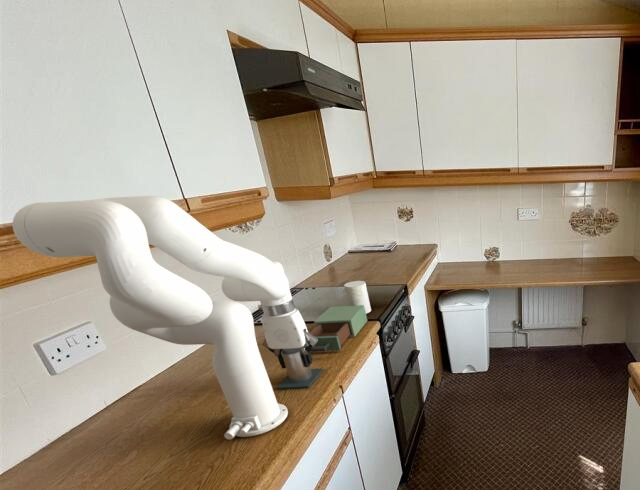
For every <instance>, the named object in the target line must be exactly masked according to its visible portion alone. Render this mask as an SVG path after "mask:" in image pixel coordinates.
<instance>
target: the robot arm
mask: <svg viewBox="0 0 640 490" xmlns="http://www.w3.org/2000/svg"><path fill="white" fill-rule="evenodd" d="M12 231H13V233H14V235H15V237H16V238H17V240H18V241H19V242H20V244H21V245H23V246H24V247H25V248H27V249H29V250H30V251H32V252H34V253H37V254H39V255H42V256H46V257H50V258H75V257H76V258H78V257H79V258H81V257H95V258H96V263H97V268H98V273H99V276H100V281H101V284H102V287H103V289H104V290H105V292H106V293H107V294H108V295H109V296H110V297H109V307H110V311H111V313H112V315H113V316H114V318H115V319H116V320H117V321H118V322H119V323H121V324H122V325H123V326H125V327H126V328H128V329H131V330H133V331H135V332H138V333H141V334H144V335H147V336H150V337H153V338H156V339H159V340H161V341H165V342H168V343H171V344H175V345H182V346H188V345H189V346H194V345H195V346H196V345H211V346H214V352H213V355H212V357H211V366H212V370H213V372H214V374H215V376H216V379H217V382H218V383H219V386H220V388H221V391H222V394H223V396H224V398H225V400H226V401H225V402H226V403H227V405H228V408H229V410H230V412H231V415H232V417H231V419H230V421H231V422H230V424H229V429H227V430H226V432H225V433H224V434H223V437H224V439H225V440H230V441H231V440H233V439H234V438H235V437H238V438H250V437H254V436H259V435H262V434H265V433H267V432H271V431H272V430H274V429H275V428H277V427H278V426H280V425H281V424H282V423H283V422H284V421H285V420H286V419H287V417H288V416H289V410H288V408H287V406H286V405H285V404H282V403H278V401H277V400H278V399H277V398H276V395H275V392H274V389H273V386H272V383H271V381H270V377H269V375H268V372H267V369H266V367H265V364H264V361H263V358H262V355H261V353H260V349H259V346H258V342H257V338H256V331H255V321H254V317H253V313H252V312H251V310H250V309H249V308H248V307H247V306H246V305H244V304H243V302H260V304H258V305H257V309H258V310H262V313H263V314H262V315H261V323H262V330H263V334H264V338H265V339H264V340H263V341H262V343H261V346H263V347H264V348H266V349H267V350H268V351H269V352H271V353H272V354H273V355H274V356H275V357H277V360H278V363H279V365H280V366H281V369H285V370H286V367H285V364H284V361H283V358H282V355H281V351H282V350H284V349H291V348H299V349H300V350H301V352H302V353H303V355H302V358H303V361H304V365H305V367H309V366H310V367H311V365H312V364H313V361H314V359H313V357H312V353H311V352H310V351H311V349H312V348H313V347H314V345H315V344H316V343H317V342H318V339H317V338H315V337H314V336H312V335H311V334H309V333H310V332H309V331H308V327H307V325H306V323H305V320H304V318H303V316H302V314H301V312H300V311H299V309H298V308H296V305H295V302H294V299H293V296H292V291H291V289H290V281H289V279H288V277H287V276H286V274H285V273H286V272H285V270H284V269H285V268H284V267H283V265H282V263H281V262H279V261H276V260H271V259H269V258H267V257H266V256H264V255H262V254H261V253H258V252H256V251H253V250H251V249H248V248H245V247H243V246H240V245H238V244H236V243H232V242H229V241H226V240H224V239H222V238H220V237H219V236H217V235H216V234H215V233H214V232H212V231H211V230H210V229H208V228H207V227H206V226H204V225H203V224H202V223H201V222H199V221H198V220H197V219H196V218H194V217H193V216H192V215H191V214H189V213H188V212H187V211H185V210H184V209H183V208H182V207H181V206H179V205H178V204H176V203H175V202H174V201H172V200H170V199H168V198H165V197H161V196H156V195H138V196H122V197H120V196H119V197H116V196H115V197H106V198H97V199H86V200H85V199H84V200H69V201H67V200H66V201H49V202H35V203H30V204H27V205H24V206H23V207H22V208H20V209H18V211H17V212H16V213H15V215H14V216H13V219H12ZM150 245H151V246H153V247H155V248H157V249H159V250H160V251H162V252H163V253H165V254H166V255H168V256H169V257H171V258H173V259H174V260H176V261H178V262H179V263H181V264H182V265H184V266H185V267H187V268H188V269H190V270H192V271H194V272H198V273H201V274H206V275H211V276H215V277H222V278H223V279H222V281H221V292H222V293H223V294H224V296H225V297H226V298H227V299H229V300H222V299H221V300H212V298H211V297H210V295H209V294H208V293H207V292H206V291H205V289H203V288H201V287H200V286H198V285H197V284H196V283H195V284H194V283H193V282H191V281H189V280H187V279H185V278H184V277H181V276H180V275H178V274H176V273H174V272H172V271H171V270H168V269H166V268H165V267H164V266H162V265H161V264H159V263H158V262H157V261H155V259H154V257H153V254H152V252H151V248H150ZM306 341H310V344H309V345H308V343H307V342H306Z"/></svg>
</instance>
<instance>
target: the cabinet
mask: <svg viewBox="0 0 640 490" xmlns="http://www.w3.org/2000/svg"><path fill="white" fill-rule="evenodd" d="M340 322H349V324H350V328H351V332H352V333H351V334H350V335H349V336H348V337H347V338H355V337H356V336H357V335H358V334H359V332H360V331H361V330H362V329H363V327H364V326H365V325H366V324H367V322H368V317H367V314H366V312H365V308H364V305H359V306H349V305H342V306H341V305H340V306H330V307H329V308H327V309H326V310H325V311H324V312H323V313H321V314H320V315H319V317H318V318H316V319H315V320H314V321H313V324H314V328H315V327H316V326H317V325H318V324H321V323H340Z"/></svg>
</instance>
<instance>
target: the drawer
mask: <svg viewBox="0 0 640 490" xmlns="http://www.w3.org/2000/svg"><path fill="white" fill-rule="evenodd" d="M308 333H309V334H311V335H312V336H314V337H315V338H317V339H318V342H317V343H316V344H315V345H314V347H313V348H312V349H311V351H310V353H311V352H312V353H313V352H314V353H315V352H329V351H330V352H333V351H341V350H342V345H343V344H344V342H345V341H346V340H347V339H348V338H349V337H348V336H349V335H350V334H351V333H352V332H351V328H350V324H349V322H340V323H321V324H318V325H317V326H316V327H315V326H314V328H313V329H311V330H310V332H308ZM306 342H307V343H308V345H309V344H310V341H306Z"/></svg>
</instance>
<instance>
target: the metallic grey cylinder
mask: <svg viewBox="0 0 640 490" xmlns="http://www.w3.org/2000/svg"><path fill="white" fill-rule="evenodd" d="M281 355H282V358H283V361H284V364H285V367H286V368H285V370H286V372H287V377H288V376H289V379H290V381H291V382H295V383H297V382H302V381H305V380H307V379H309V378H310V377H311V376H312V372H311V369H312V368H311V365H310V366H309V367H305V365H304V361H303V358H302V355H303V353H302V352H301V350H300V349H299V348H291V349H284V350H282V351H281Z"/></svg>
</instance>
